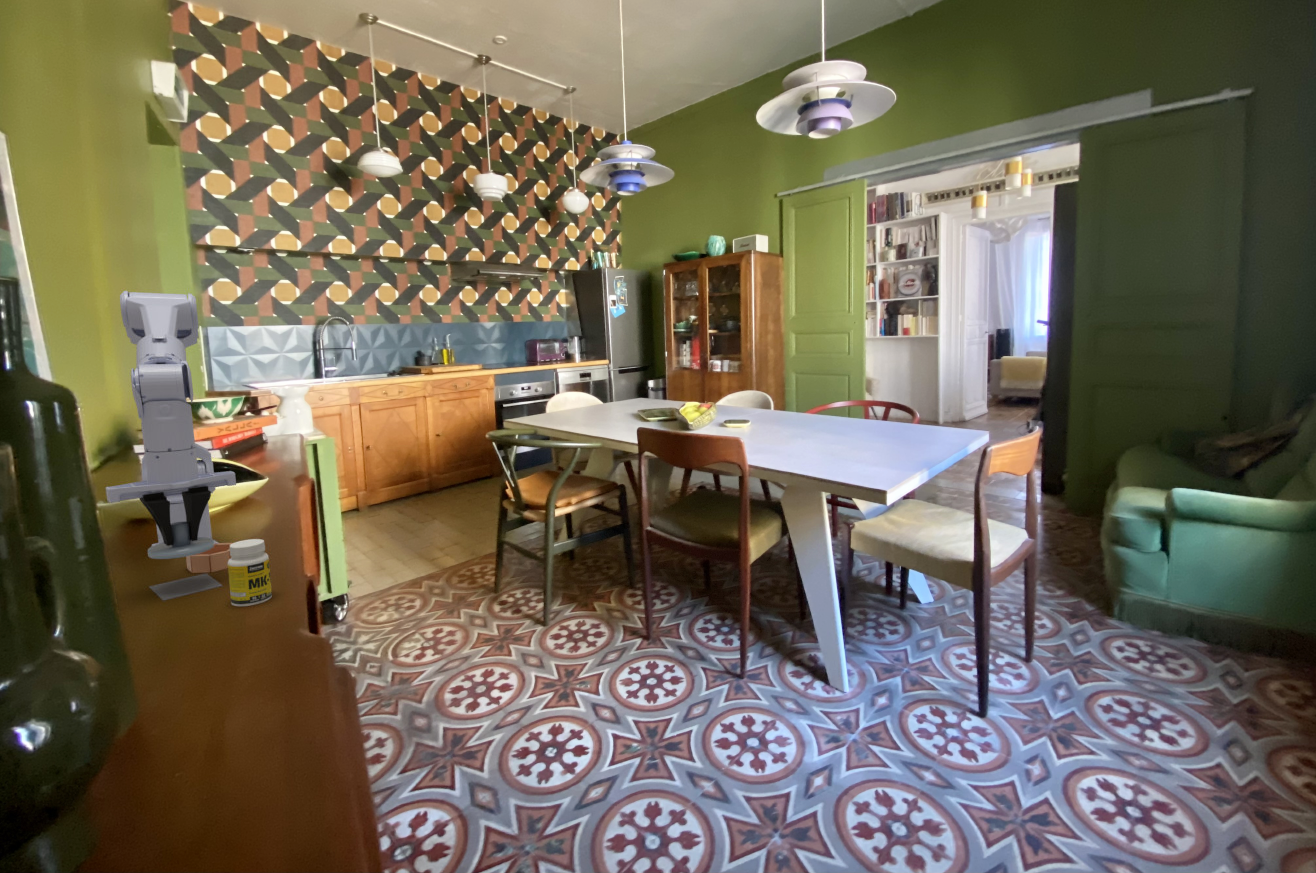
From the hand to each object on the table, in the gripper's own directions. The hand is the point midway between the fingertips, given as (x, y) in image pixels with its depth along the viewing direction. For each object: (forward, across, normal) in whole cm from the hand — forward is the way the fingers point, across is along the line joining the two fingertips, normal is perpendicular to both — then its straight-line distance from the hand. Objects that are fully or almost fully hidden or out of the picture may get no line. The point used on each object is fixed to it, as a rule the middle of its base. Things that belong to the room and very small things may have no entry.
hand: (180, 541), depth 89 cm
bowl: (+7, +6, +7) cm, 12 cm away
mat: (+7, 0, 0) cm, 7 cm away
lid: (+1, 0, 0) cm, 1 cm away
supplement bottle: (+7, +4, -13) cm, 16 cm away
